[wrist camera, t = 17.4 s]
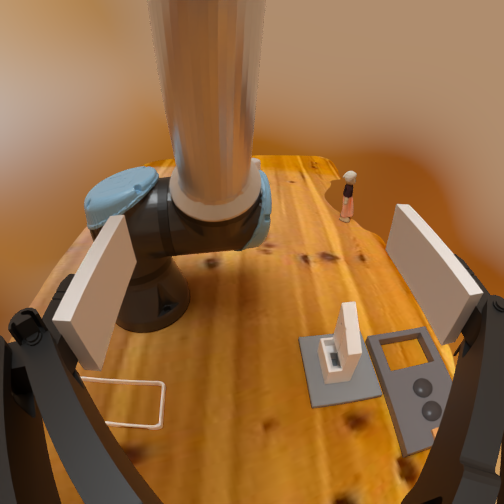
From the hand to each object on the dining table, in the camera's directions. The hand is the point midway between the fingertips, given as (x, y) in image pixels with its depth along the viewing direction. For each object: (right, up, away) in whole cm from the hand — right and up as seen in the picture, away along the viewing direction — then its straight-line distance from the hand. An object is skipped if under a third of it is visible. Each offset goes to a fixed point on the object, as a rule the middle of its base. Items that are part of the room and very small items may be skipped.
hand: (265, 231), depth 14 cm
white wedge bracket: (+11, -17, +26) cm, 33 cm away
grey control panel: (+23, -21, +22) cm, 38 cm away
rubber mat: (+12, -18, +27) cm, 34 cm away
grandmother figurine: (+23, +8, +62) cm, 67 cm away
